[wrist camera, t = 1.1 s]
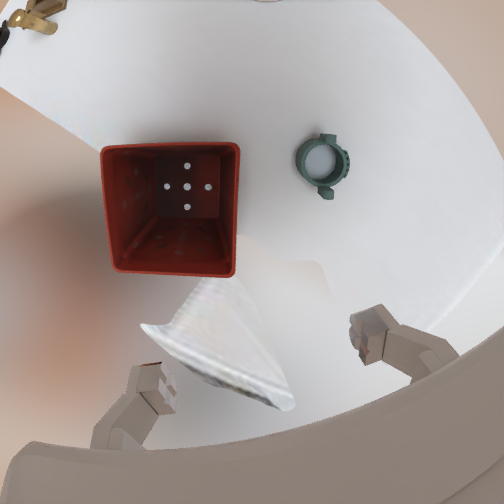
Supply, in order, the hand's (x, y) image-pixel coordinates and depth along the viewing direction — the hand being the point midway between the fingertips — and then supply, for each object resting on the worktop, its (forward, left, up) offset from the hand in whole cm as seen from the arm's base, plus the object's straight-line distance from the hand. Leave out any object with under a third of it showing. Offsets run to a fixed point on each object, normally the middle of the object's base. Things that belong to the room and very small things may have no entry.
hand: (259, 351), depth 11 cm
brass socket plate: (-22, -62, -44) cm, 79 cm away
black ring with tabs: (-13, -75, -44) cm, 88 cm away
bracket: (-8, +11, -44) cm, 46 cm away
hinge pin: (-16, -55, -44) cm, 72 cm away
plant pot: (+7, -9, -44) cm, 45 cm away
